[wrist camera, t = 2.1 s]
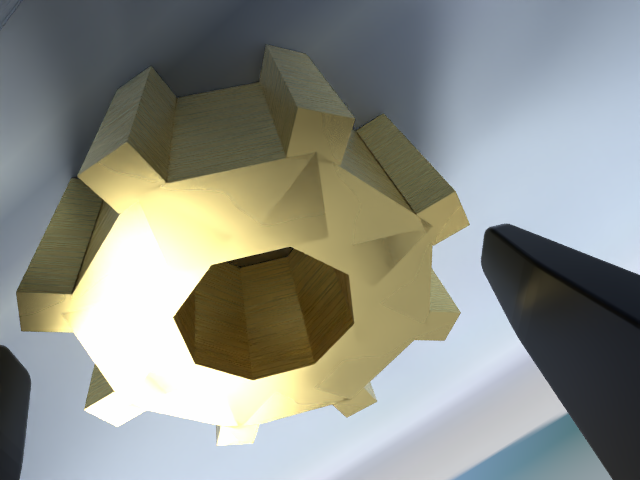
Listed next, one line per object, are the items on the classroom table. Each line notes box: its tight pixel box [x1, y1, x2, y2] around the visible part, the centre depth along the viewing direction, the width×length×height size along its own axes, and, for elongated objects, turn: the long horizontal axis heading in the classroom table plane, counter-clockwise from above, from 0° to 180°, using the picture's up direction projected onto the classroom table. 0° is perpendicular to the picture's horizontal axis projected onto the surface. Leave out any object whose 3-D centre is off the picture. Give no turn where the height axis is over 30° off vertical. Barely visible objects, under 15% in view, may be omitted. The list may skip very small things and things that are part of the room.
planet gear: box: [16, 44, 470, 445], centre depth 9 cm, size 7×7×4 cm
